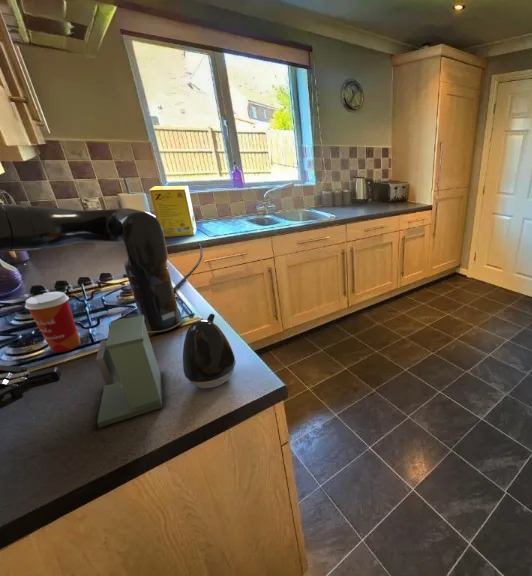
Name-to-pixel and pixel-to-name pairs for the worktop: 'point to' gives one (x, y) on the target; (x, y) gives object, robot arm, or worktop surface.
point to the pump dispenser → (207, 355)
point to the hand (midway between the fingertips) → (58, 373)
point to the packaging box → (173, 210)
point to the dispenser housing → (130, 373)
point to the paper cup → (54, 320)
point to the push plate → (105, 363)
